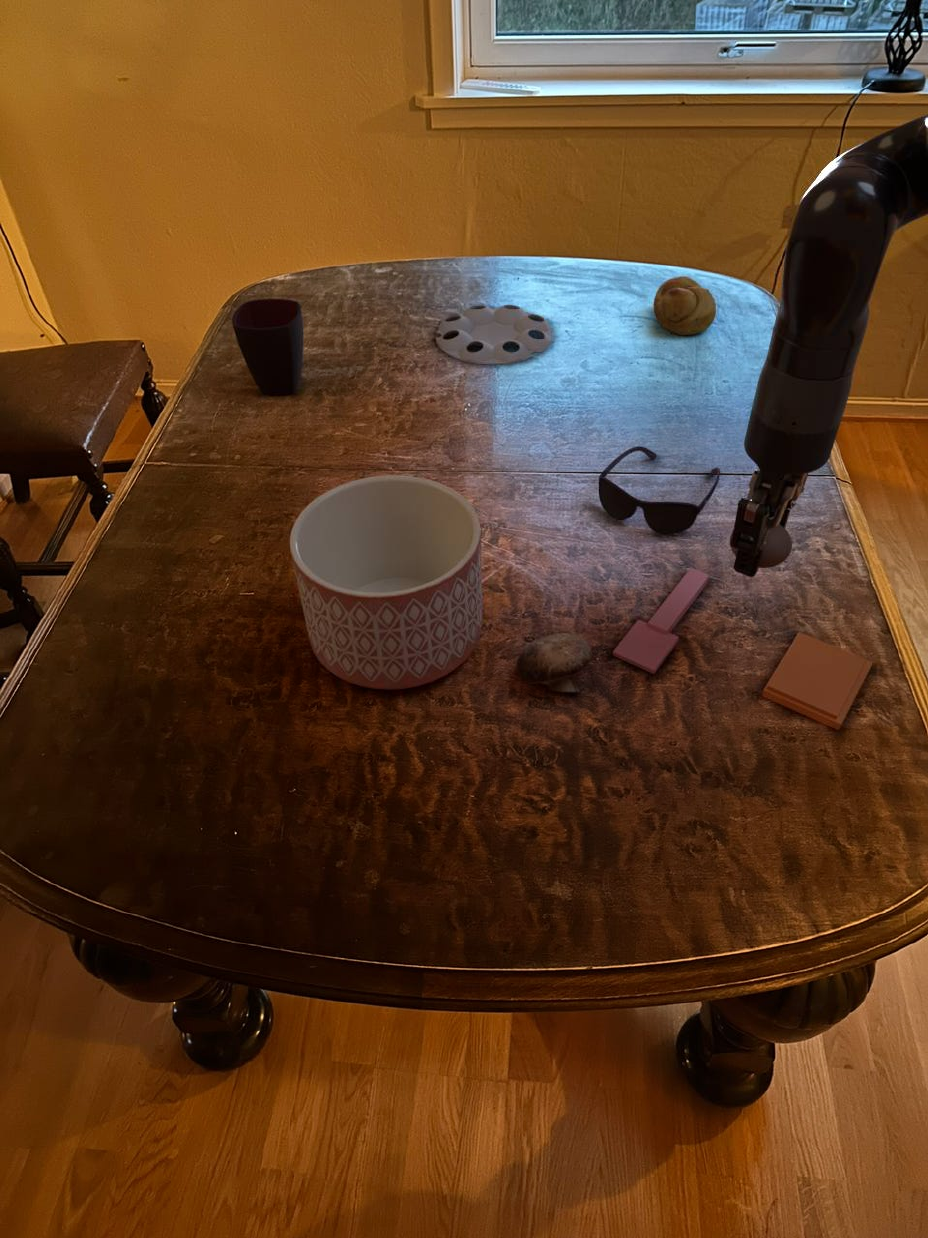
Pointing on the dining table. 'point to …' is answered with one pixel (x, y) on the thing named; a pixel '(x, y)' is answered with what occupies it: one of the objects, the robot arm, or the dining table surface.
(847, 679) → the brown flat block
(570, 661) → the mushroom
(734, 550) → the egg
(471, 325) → the paint palette
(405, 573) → the planter
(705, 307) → the bread roll
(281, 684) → the dining table surface
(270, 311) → the cup
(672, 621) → the spatula
